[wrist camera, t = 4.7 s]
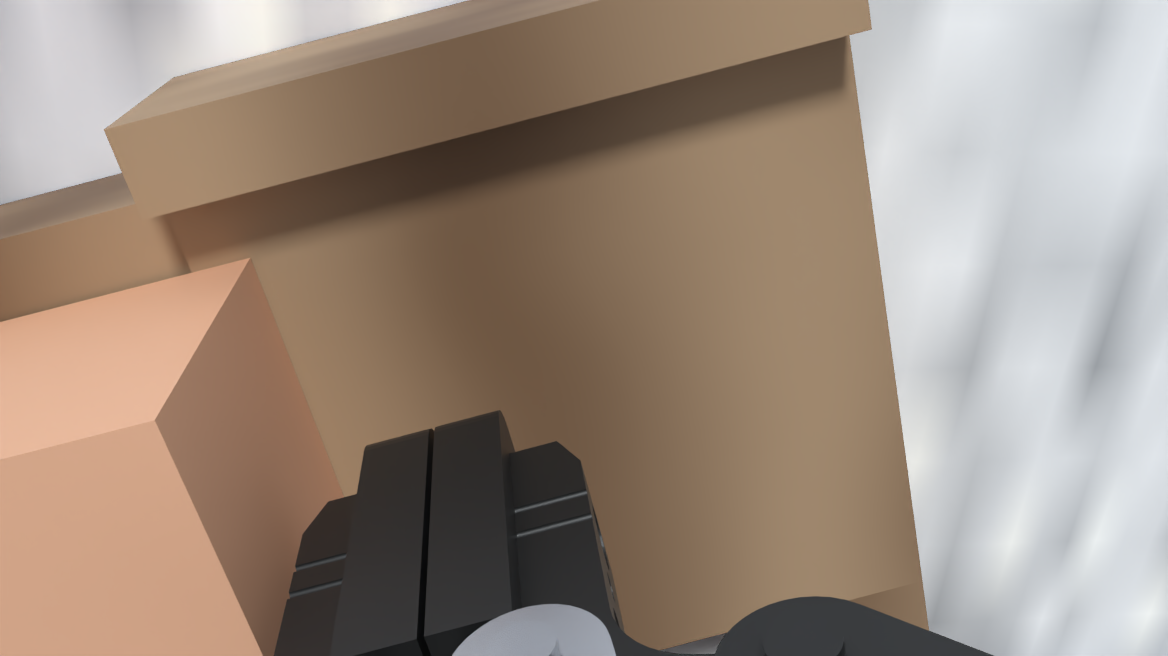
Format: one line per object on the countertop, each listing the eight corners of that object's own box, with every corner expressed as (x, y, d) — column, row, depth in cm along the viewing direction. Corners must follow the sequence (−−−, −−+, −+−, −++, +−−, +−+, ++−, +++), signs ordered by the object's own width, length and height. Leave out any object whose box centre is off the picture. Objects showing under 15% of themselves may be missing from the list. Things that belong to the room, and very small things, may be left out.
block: (249, 257, 13) (154, 420, 9) (382, 596, 15) (348, 841, 11) (-162, 363, 13) (-423, 567, 9) (25, 686, 15) (-126, 959, 11)
